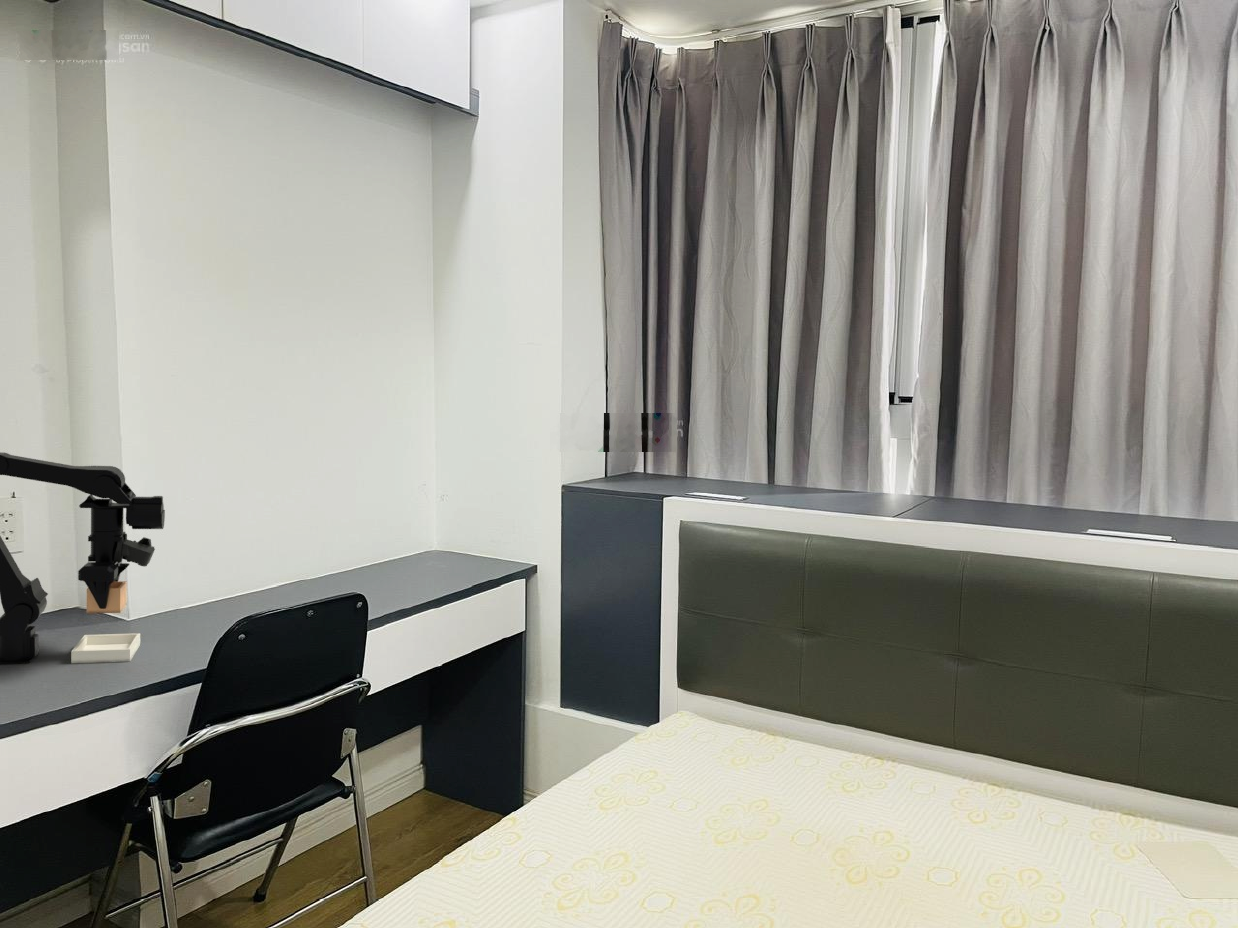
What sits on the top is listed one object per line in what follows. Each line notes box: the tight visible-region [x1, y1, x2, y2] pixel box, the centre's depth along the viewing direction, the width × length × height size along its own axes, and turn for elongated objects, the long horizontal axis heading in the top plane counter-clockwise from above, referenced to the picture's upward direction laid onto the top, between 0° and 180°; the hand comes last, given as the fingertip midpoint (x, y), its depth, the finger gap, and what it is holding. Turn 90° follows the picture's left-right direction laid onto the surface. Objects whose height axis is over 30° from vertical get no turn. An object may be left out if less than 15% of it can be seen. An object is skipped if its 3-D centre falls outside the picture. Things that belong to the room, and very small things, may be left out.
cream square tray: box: [70, 633, 141, 664], centre depth 184 cm, size 10×10×2 cm
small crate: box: [86, 580, 128, 614], centre depth 183 cm, size 6×6×5 cm
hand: (106, 604), depth 183 cm, fingers closed on small crate, 6 cm apart
